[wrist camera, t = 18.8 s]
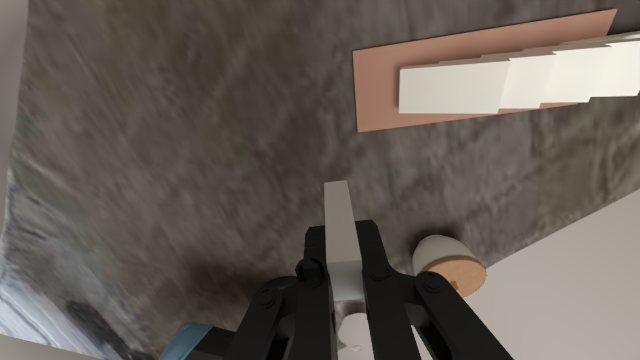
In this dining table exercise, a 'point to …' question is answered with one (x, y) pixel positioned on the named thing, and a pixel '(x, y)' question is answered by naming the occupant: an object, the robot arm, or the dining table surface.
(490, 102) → the domino
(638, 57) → the domino
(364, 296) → the robot arm
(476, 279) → the lidded jar
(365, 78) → the strip
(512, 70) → the domino
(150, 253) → the dining table surface
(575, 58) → the domino
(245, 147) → the dining table surface
